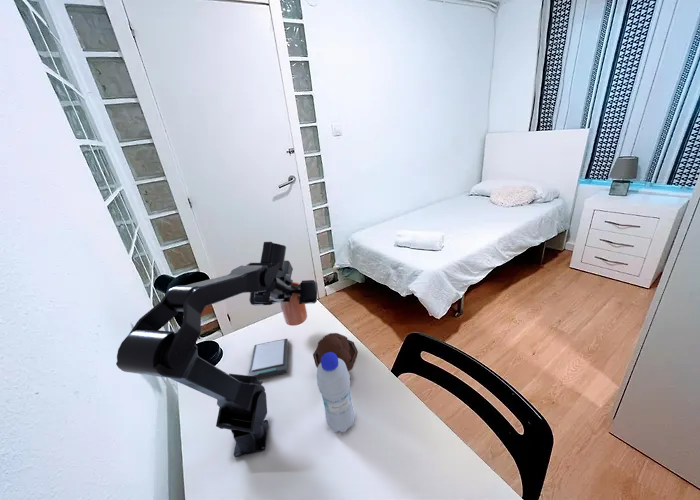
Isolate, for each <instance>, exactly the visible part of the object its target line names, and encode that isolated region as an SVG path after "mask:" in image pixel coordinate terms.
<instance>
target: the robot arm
mask: <svg viewBox="0 0 700 500" xmlns="http://www.w3.org/2000/svg"><path fill="white" fill-rule="evenodd" d="M286 251H287V246H286V245H285V244H280V243H275V242H272V241H264V242H263V244H262V251H261V257H260V261H259V262H249V263H248V264H245V265H243V264H242V265H239V266H237V267H235V268H233V269H232V270H231V271H230V273H228V274H226V275H222V276H218V277H213V278H209V279H205V280H202V281H198V282H193V283H189V284H186V285H185V284H184V285H175V286H173V287H171V288H169V289H167V291H166V292H165V294H164V295H163V297H162V299H161V300H160V302H158V303H157V304H156V305H155V306H153V307H152V308H151V309H149V310H148V312H146V313H145V314H143V315H142V316H141V317H140V318H139V319H137V321H136V323H135V325H134V326H133V327H132V328H131V330H130V332H129V333H128V335H127V336H126V337H125V338H124V339H123V340H122V341H121V343H120V344H119V347H118V348H117V353H116V364H115V365H116V367H117V368H118V369H119V370H121V371H122V372H125V373H130V374H138V375H145V376H150V377H151V376H152V377H159V378H167V379H170V380H172V381H175V382H178V383H179V384H182V385H183V386H187V387H188V388H190V389H193V390H195V391H197V392H199V393H202V394H204V395H207V396H208V397H211V398H213V399H215V400H216V406H218V407H219V408H218V412H217V418H216V422H215V427H217V428H219V429H220V430H229V431H231V433H232V436H233V439H234V442H235V446H234V451H233V457H234V458H239V457H243V456H249V455H253V454H256V453H260V452H264V451H265V450H266V448H267V440H268V439H267V438H268V429H269V420H268V419H266V417H267V416H268V401H267V392H266V388H265V386H264V385H263V383H264V381H263V380H259V379H257V378H256V377H254V376H249V374H248V375H246V374H237V373H228V372H227V373H226V372H225V371H223V370H222V369H220V368H218V366H215V365H213V364H212V363H210V362H208V361H207V360H205V359H203V358H202V357H200V356H199V354H198V346H197V345H196V343H197V341H198V340H199V337H200V335H201V333H202V329H201V328H202V322H201V321H202V313H203V312H204V309H205V308H206V307H209V306H211V305H215V304H218V303H220V302H222V301H225V300H228V299H231V298H233V297H235V296H239V295H241V294H246V293H249V303H250V305H251V306H271V305H274V304H277V303H279V304H280V303H281V302H290V297H291V296H292V295H293V294H299V295H298V296H300V298H299V304H305V305H308V304H309V305H312V304H314V305H315V304H316V303H317V301H318V282H317V281H315V279H307V280H301V281H300V282H299V286H291V285H293V282H294V280H293V279H292V275H293V270H294V268H293V266H292V264H291V262H290V260H286V259H285V258H286ZM294 289H296V290H294ZM298 289H299V290H298ZM179 312H182V323H181V326H180V327H179V329H178V330H177V331H172V330H160V329H162V328H163V327H164V326H166V325H167V324H168V322H170V321H172V319H174V318H175V317H176V316H177V315H178V314H179Z"/></svg>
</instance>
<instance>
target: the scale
mask: <svg viewBox="0 0 700 500" xmlns="http://www.w3.org/2000/svg"><path fill="white" fill-rule="evenodd" d="M288 355H289V340H288V338H282V339H278V340H272V341H267V342H264V343H258V344H254V347H253V351H252V356H251V361H250V367H249V372H248V376H254V377H256V378H257V380H261V379H265V378H271V377H275V376H280V375H285V374H288V359H289V358H288Z"/></svg>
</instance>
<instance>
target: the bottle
mask: <svg viewBox="0 0 700 500" xmlns="http://www.w3.org/2000/svg"><path fill="white" fill-rule="evenodd" d="M350 378H351V375H350V373H349V371H348V370H347V367H346V364H345V362H344V361H343V360H342V359H340V358H338V357H337V355H336V354H335V353H332V352H328V353H325V354H324V355H323V356H322V358H321V363H320V364H319V366H318V368H317V367H316V385H317V388H318V391H319V393H320V395H321V398H322V404H323V407H324V414H325V420H326V423H327V426H329V428H330V429H331V431H333V433H337V432H341V433H343V434H344V433H346V432H347V430H348V429H349V428H352V427H353V426H354V422H355V409H354V405H353V402H352V394H351V388H350V386H351V380H350Z"/></svg>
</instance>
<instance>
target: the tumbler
mask: <svg viewBox="0 0 700 500" xmlns="http://www.w3.org/2000/svg"><path fill="white" fill-rule="evenodd" d="M299 284H300V282H295V281H293V285H291V286H299ZM294 290H296V289H294ZM298 290H299V289H298ZM298 295H299V294H293V295H292V296H291V297H290V302H281V303H279V304H280V308H281V312H282V316H283V321H284V323H285V324H286V325H288V326H292V327H293V326H299V325H301V324H304V322H306V320H307V319H308V311H307V307H306V304H299V298H300V296H298Z"/></svg>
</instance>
